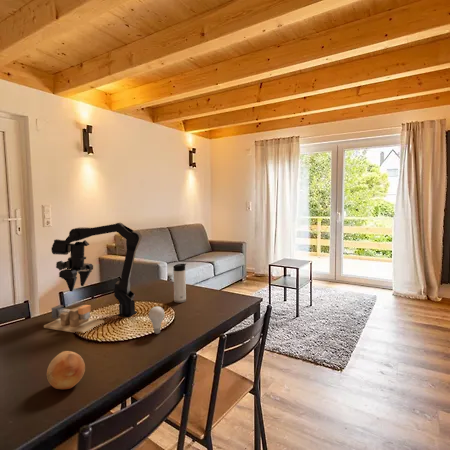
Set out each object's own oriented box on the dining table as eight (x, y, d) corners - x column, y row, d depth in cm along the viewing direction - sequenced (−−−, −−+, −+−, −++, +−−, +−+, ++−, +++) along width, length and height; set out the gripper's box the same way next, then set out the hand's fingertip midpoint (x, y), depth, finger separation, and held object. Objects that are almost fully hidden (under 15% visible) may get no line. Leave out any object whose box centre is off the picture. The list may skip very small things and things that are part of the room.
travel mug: (184, 303, 161) (183, 265, 159) (172, 302, 162) (171, 264, 160) (188, 299, 167) (187, 262, 165) (176, 298, 168) (175, 262, 166)
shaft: (91, 319, 132) (90, 308, 132) (84, 322, 128) (83, 312, 128) (59, 314, 138) (59, 305, 137) (52, 318, 134) (51, 307, 134)
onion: (38, 392, 85) (36, 358, 85) (68, 374, 95) (66, 342, 94) (65, 400, 82) (63, 364, 81) (93, 380, 91) (91, 347, 91)
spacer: (90, 311, 132) (90, 305, 132) (83, 314, 128) (82, 308, 128) (86, 310, 133) (85, 304, 133) (78, 313, 129) (78, 308, 129)
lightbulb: (167, 331, 125) (167, 305, 124) (159, 337, 119) (159, 310, 119) (154, 329, 127) (153, 303, 126) (146, 335, 121) (145, 308, 121)
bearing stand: (104, 322, 135) (103, 305, 135) (83, 333, 124) (82, 314, 123) (66, 317, 142) (65, 300, 141) (43, 327, 131) (42, 309, 130)
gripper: (72, 251, 151) (71, 282, 152) (47, 257, 133) (47, 293, 134) (94, 252, 151) (93, 283, 152) (72, 259, 132) (71, 294, 133)
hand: (76, 288), depth 142 cm, fingers open, 9 cm apart
